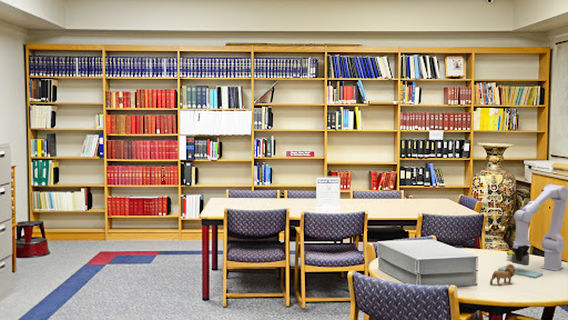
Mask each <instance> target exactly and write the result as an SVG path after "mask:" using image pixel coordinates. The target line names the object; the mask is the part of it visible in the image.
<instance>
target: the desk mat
mask: <svg viewBox="0 0 568 320" xmlns="http://www.w3.org/2000/svg"><path fill="white" fill-rule="evenodd" d="M506 267H507V265H503V266H501V267H498V268H497V271H505V269H506ZM514 275H519V276H524V277H527V278H531V277H532V279H538V278H539V277H541V276H543V275H544V273H543V272H538V271H533V270H528V269H523V268H520V267H515V273H514Z"/></svg>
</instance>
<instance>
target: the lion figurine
mask: <svg viewBox="0 0 568 320" xmlns="http://www.w3.org/2000/svg"><path fill="white" fill-rule="evenodd" d="M506 266H507V267H506V269H505V271H500V270H494V271H493V273H492V275H491V279H490V281H489V284H490V285H491V286H493V285H494V283H493V281H494V280H495V279H496V284H497V285H498V286H499V287H501V286H502V283H500V281H501V279H503V283H504V284H507V282H508V285H512V283H511V281H512V277H514V276H515V274H514V273H515V268H516V266H515V265H514V264H513V263H509V264H507V265H506ZM507 280H508V281H507Z"/></svg>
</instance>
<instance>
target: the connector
mask: <svg viewBox="0 0 568 320" xmlns="http://www.w3.org/2000/svg"><path fill="white" fill-rule="evenodd" d="M506 258H507V259H509V260H511V264H517V265H521V266H527V267H528V266H529V265H530V255H529V256H528V255H522V260H521V261H517V260H516V255H515V253H512V256H510V255H509V256H508V255H507V257H506Z"/></svg>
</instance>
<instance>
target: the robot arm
mask: <svg viewBox="0 0 568 320" xmlns="http://www.w3.org/2000/svg"><path fill="white" fill-rule="evenodd" d="M549 199H550V200H551V201H553V203H554V205H553V209H552V214H551V220H550V225H549V230H548V232H547V233H545V234H544V236H543V238H542V239H541V244H540V245H541V248H542V249H543V252H544V260H543V265H542V266H540V268H541V269H545V270H549V271H556V272H557V271H560V270H561V269H563V268H564V266H562V262H563V255H562V252H563V251H564V249H565V239H564V237H563V236H562V234H561V232H562V227H563V223H564V217H565V212H566V207H567V202H568V201H567V200H568V188H567V186H565V185H559V184H558V185H557V184H552V183H548V184H546V185H545V186H544V187H543V190H542V192H541V193H540V194H539V195H538V196H537V197H536V198H535V199H534V200H530V201H528V203H527V204H526V205H524V206H523V207H522V208H521V209H518V210H516V211H515V212H514V215H513V219H514V221H515V240H514V241H512V247H513V250H514V252H515V255H516V260H517V261H521V260H522V255H526V254H527V252H529V249H530V248H531V247H530V240H529V223H530V222H531V221H532V219H533V217H534V215H535V214H536V213H537V212H538V211H539V210H540V207H541V205H543V204H544V203H545V202H546V201H548V200H549Z"/></svg>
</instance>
